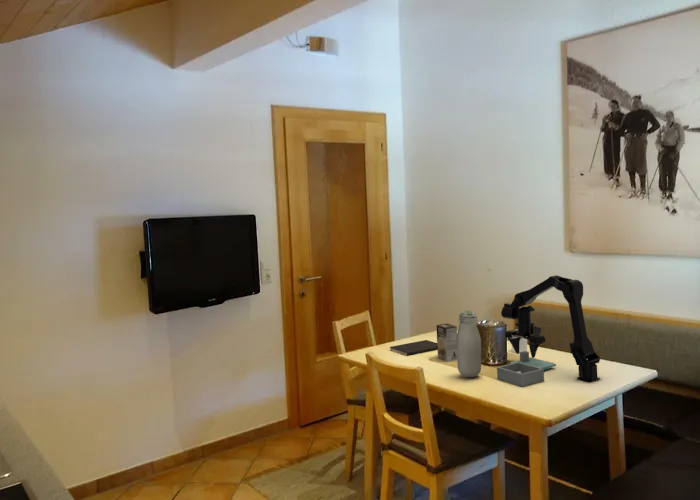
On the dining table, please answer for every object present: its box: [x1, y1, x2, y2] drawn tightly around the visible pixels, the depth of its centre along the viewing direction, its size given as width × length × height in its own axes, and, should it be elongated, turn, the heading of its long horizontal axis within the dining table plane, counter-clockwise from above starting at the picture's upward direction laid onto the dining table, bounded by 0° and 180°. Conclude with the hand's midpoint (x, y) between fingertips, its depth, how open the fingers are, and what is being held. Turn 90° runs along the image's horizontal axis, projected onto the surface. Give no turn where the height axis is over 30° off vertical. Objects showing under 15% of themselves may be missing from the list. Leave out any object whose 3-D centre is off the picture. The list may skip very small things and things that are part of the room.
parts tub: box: [496, 362, 545, 388], centre depth 247 cm, size 14×12×5 cm
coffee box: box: [436, 323, 458, 363], centre depth 286 cm, size 9×6×16 cm
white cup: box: [511, 338, 528, 354], centre depth 292 cm, size 8×8×10 cm
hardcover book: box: [389, 339, 438, 357], centre depth 309 cm, size 16×23×2 cm
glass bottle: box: [456, 310, 482, 378], centre depth 255 cm, size 10×10×28 cm
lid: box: [509, 351, 557, 371], centre depth 263 cm, size 15×13×6 cm
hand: (525, 355), depth 267 cm, fingers open, 9 cm apart
